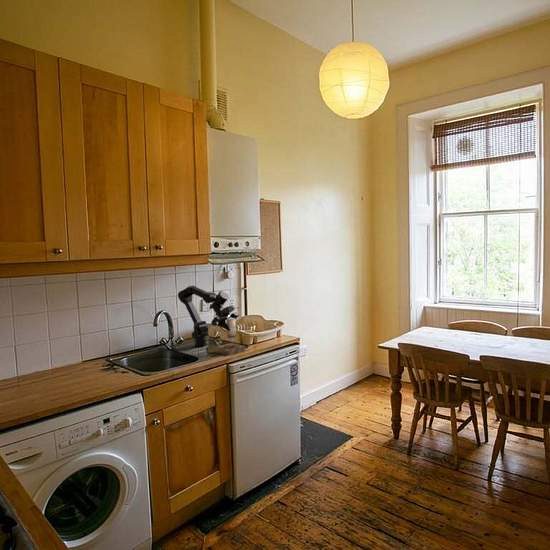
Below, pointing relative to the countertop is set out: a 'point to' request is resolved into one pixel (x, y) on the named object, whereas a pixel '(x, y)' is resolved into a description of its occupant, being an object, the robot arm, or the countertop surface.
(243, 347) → the walnut board
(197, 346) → the robot arm
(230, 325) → the cream leg
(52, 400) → the countertop surface
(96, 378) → the countertop surface
